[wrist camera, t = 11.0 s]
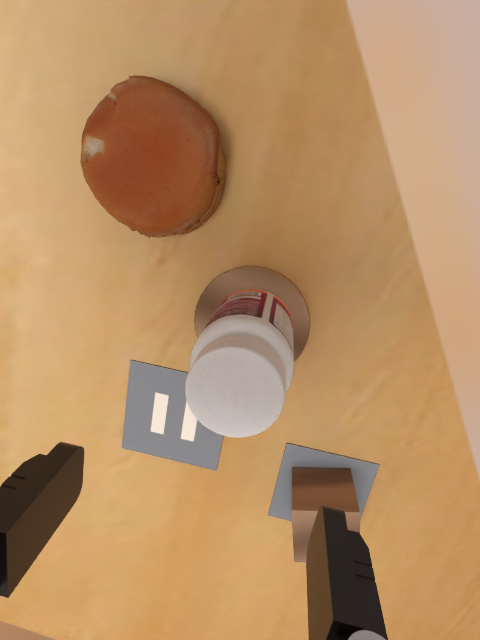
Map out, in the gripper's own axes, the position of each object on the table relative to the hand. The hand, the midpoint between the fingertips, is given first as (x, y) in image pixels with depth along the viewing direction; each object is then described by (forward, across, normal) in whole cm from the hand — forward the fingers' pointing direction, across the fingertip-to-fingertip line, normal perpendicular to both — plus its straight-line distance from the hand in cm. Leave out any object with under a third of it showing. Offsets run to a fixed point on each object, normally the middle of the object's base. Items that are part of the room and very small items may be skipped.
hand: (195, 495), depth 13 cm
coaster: (+19, 0, 0) cm, 19 cm away
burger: (+20, +9, -10) cm, 24 cm away
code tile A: (+19, +5, +10) cm, 22 cm away
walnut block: (+19, -9, +14) cm, 25 cm away
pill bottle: (+19, 0, 0) cm, 19 cm away
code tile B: (+19, -9, +14) cm, 25 cm away
